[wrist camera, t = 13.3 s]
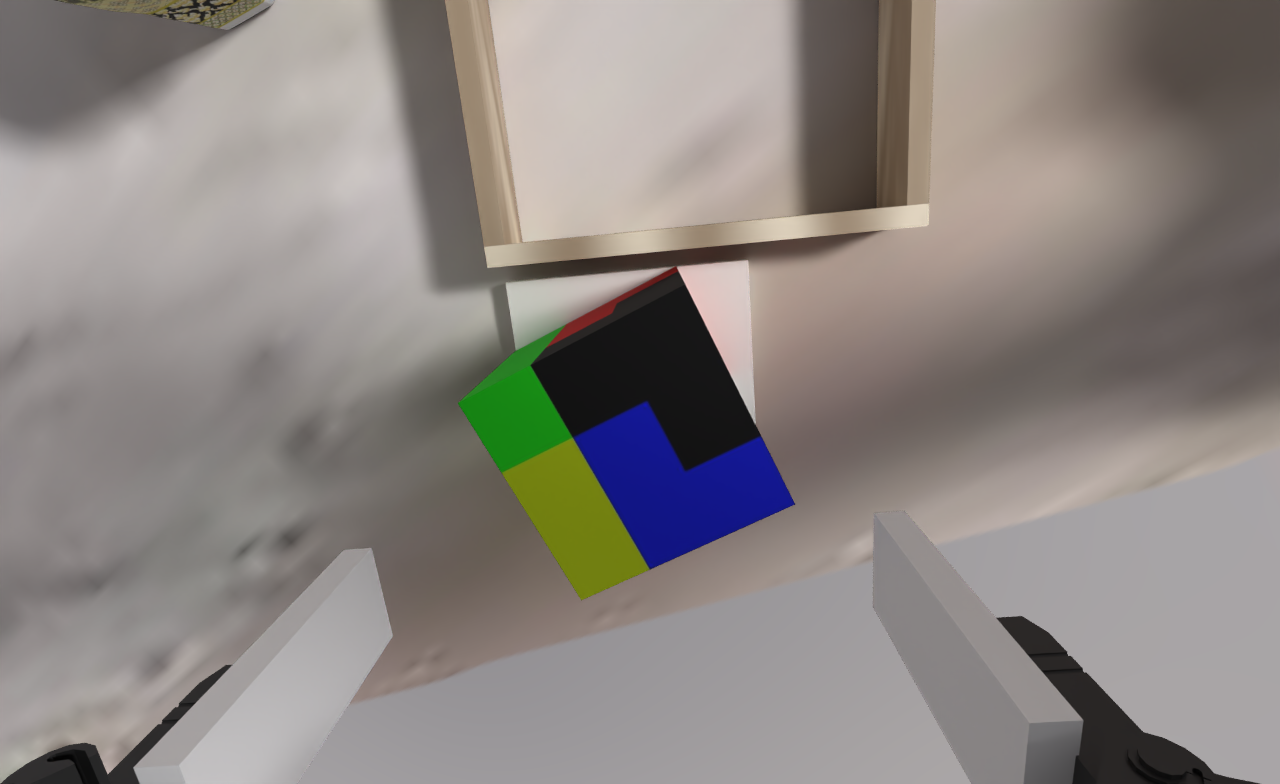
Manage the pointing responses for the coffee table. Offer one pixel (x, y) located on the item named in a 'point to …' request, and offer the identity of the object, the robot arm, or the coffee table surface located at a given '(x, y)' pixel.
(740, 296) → the pad
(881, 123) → the bin
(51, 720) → the coffee table surface
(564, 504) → the puzzle toy
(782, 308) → the coffee table surface
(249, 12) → the ceramic cup
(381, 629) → the robot arm
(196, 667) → the coffee table surface
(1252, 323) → the coffee table surface
